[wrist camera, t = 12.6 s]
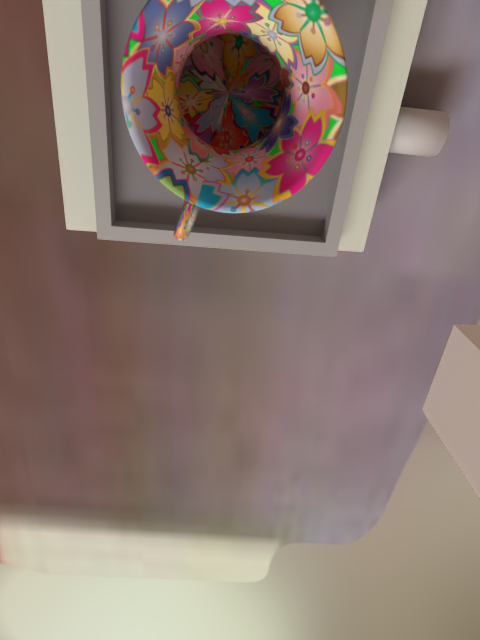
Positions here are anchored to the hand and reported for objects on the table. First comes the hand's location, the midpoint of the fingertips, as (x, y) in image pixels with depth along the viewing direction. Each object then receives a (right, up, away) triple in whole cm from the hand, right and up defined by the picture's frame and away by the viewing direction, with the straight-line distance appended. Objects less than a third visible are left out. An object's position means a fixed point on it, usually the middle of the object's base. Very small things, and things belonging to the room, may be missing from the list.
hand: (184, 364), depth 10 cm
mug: (0, +14, +17) cm, 22 cm away
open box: (+2, +16, +21) cm, 26 cm away
